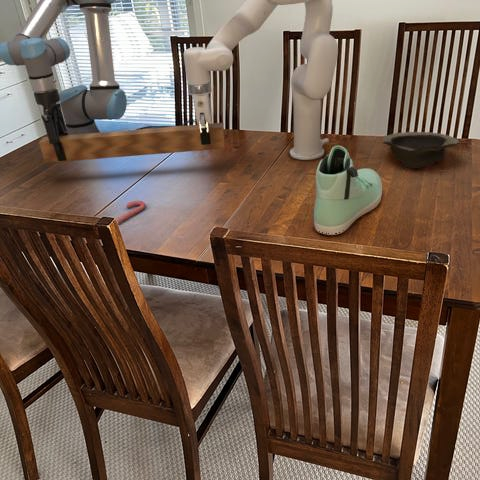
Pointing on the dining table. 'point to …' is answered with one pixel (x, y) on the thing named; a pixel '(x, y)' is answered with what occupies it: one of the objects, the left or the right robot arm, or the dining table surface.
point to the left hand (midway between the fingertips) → (64, 157)
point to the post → (134, 142)
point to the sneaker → (343, 192)
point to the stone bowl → (419, 147)
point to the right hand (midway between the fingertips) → (206, 140)
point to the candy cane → (132, 210)
